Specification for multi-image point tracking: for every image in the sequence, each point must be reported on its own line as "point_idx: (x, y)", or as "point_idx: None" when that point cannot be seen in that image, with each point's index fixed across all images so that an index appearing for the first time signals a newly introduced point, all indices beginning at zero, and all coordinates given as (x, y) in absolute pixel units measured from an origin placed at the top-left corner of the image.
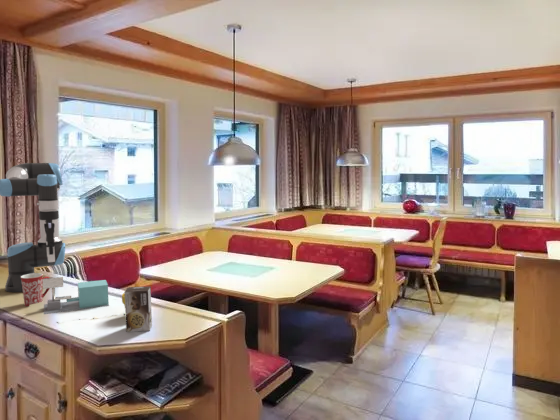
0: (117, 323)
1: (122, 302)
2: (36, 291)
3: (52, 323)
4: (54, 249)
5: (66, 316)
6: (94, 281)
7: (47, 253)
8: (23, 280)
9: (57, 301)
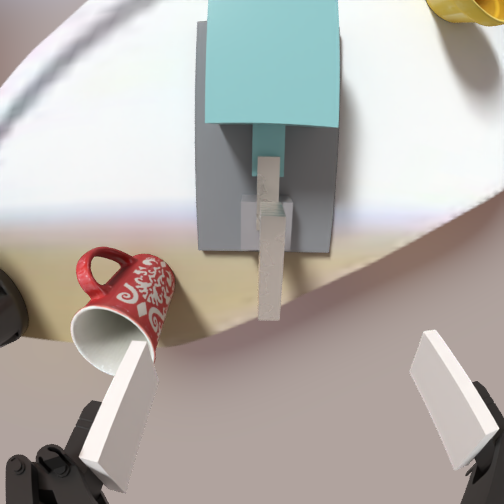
0: (482, 65)
1: (479, 23)
2: (159, 296)
3: (405, 225)
4: (486, 406)
5: (360, 178)
6: (219, 36)
7: (152, 400)
8: None
9: (288, 213)
